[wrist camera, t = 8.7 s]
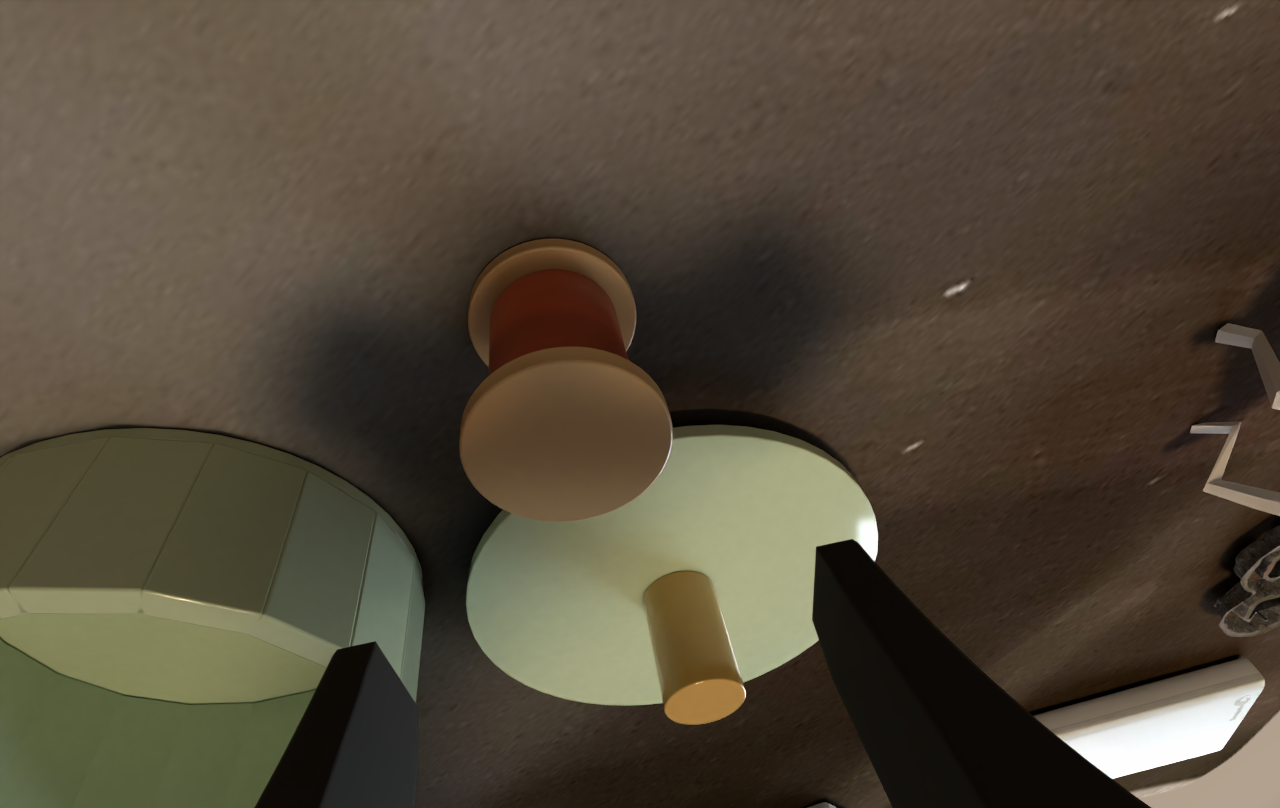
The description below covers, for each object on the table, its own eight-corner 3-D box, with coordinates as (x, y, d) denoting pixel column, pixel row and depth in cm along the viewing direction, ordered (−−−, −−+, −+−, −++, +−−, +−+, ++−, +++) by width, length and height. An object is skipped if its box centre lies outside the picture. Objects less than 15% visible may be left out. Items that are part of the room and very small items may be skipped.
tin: (472, 659, 25) (467, 802, 21) (112, 735, 24) (40, 897, 20) (335, 382, 17) (288, 532, 13) (-205, 485, 16) (-418, 673, 13)
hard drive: (1270, 681, 34) (1025, 750, 34) (1220, 753, 39) (1007, 812, 39) (1241, 652, 35) (1005, 718, 35) (1197, 725, 40) (990, 782, 41)
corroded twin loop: (1185, 631, 32) (1203, 651, 31) (1243, 521, 27) (1266, 541, 26) (1290, 602, 32) (1310, 622, 31) (1367, 487, 27) (1393, 506, 26)
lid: (850, 637, 28) (904, 758, 24) (520, 708, 27) (523, 844, 24) (884, 369, 20) (977, 491, 16) (407, 463, 19) (385, 614, 15)
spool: (642, 364, 18) (682, 501, 14) (492, 394, 18) (490, 540, 14) (622, 223, 16) (663, 341, 12) (447, 254, 16) (429, 385, 12)
